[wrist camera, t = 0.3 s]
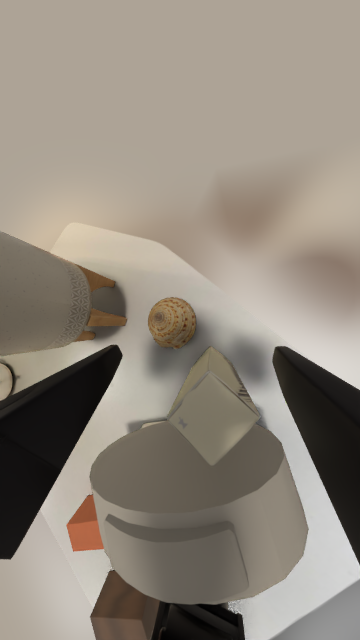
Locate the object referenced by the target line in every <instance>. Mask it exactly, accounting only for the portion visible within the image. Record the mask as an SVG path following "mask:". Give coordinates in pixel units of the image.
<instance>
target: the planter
mask: <svg viewBox="0 0 360 640" xmlns="http://www.w3.org/2000/svg"><path fill="white" fill-rule="evenodd" d="M114 284H115V281H113V280H111V279H108V278H106V277H104V276H102V275H99V274H97V273H95V272H93V271H90V270H88V269H86V268H83V267H81V266H79V265H77V264H74V263H72V262H69V261H67V260H65V259H63V258H60V257H58V256H56V255H54V254H51V253H49V252H47V251H44V250H42V249H40V248H37V247H35V246H33V245H31V244H29V243H26V242H24V241H22V240H19V239H17V238H15V237H12V236H10V235H8V234H6V233H4V232H1V231H0V356H6V355H13V354H20V353H27V352H33V351H40V350H47V349H54V348H60V347H64V346H66V345H69V344H70V343H72V342H77V341H85V340H93V339H94V336H95V334H94V333H92V332H91V331H84V328H85V326H125V323H126V321H127V318H125V317H123V316H117V315H113V314H109V313H105V312H102V311H99V310H96V309H93V308H91V305H92V300H91V292H93V291H94V290H96V289H98V288H101V287H106V286H109V287H114Z"/></svg>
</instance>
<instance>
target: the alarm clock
mask: <svg viewBox="0 0 360 640" xmlns="http://www.w3.org/2000/svg"><path fill="white" fill-rule="evenodd" d="M90 482H91V487H92V493H93V498H94V504H95V509H96V514H97V520H98V525H99V530H100V535H101V539H102V543H103V547H104V550H105V553H106V554H107V555H108V557H109V558H110V561H111V565H112V568H113V569H114V570H115V571H116V572H117V573H118V574H119V575H120V576H121V577H122V578H123V579H124V580H125V581H126V582H127V583H128V584H130V585H131V586H133V587H134V588H136V589H137V590H139V591H140V592H142V593H143V594H145V595H148V596H150V597H153V598H156V599H158V600H161V601H163V602H166V603H178V604H191V605H192V604H199V603H202V604H214V605H215V604H220V603H225V602H230V601H235V600H240V599H245V598H250V597H254V596H256V595H258V594H259V593H261V592H263V591H265V590H266V589H268V588H270V587H272V586H273V585H275V584H277V583H279V582H280V581H282V580H284V579H285V578H286V577H287V575H288V574H289V573H290V572H291V570H292V569H293V568H294V567H295V565H296V564H297V563H298V561H299V560H300V559H301V558H302V556H303V554H304V549H305V544H306V539H307V534H308V530H309V529H308V525H307V521H306V518H305V514H304V510H303V506H302V503H301V500H300V497H299V494H298V491H297V488H296V485H295V482H294V479H293V476H292V473H291V470H290V467H289V464H288V461H287V458H286V455H285V452H284V449H283V446H282V443H281V442H280V441H279V440H278V439H277V438H276V436H275V435H274V434H273V433H272V432H271V431H269V430H267V429H265V428H263V427H261V426H259V425H257V424H254V425H253V426H252V428H251V429H250V430H249V431H248V432H247V433H246V434H245V435H244V436H243V437H242V438H241V439H240V440H239V441H238V442H237V443H236V444H235V445H234V446H233V447H232V448H231V449H230V450H229V451H228V452H227V453H226V454H225V455H224V456H223V457H222V458H221V459H220V460H219V461H218V462H217V463H216V464H215V465H213V466H211V465H210V464H209V463H208V462H207V461H206V460H205V459H204V458H203V457H202V456H201V455H200V454H199V453H198V452H197V451H196V450H195V449H194V448H193V447H192V446H191V445H190V444H189V443H188V442H187V441H186V440H185V439H184V438H183V437H182V435H181V434H180V433H179V432H178V431H177V430H176V429H175V428H174V427H173V426H172V425H171V424H170V422H169V421H160V422H152V423H144V424H143V425H142V427H141V429H139V430H136V431H134V432H132V433H130V434H128V435H126V436H123V437H121V438H120V439H118V440H117V441H115V442H114V443H112V444H111V445H109V446H108V447H107V448H106V449H105V450H104V451H103V452H101V453H100V454H99V455H98V457H97V458H96V460H95V462H94V463H93V465H92V468H91V472H90Z"/></svg>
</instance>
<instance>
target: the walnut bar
mask: <svg viewBox="0 0 360 640" xmlns="http://www.w3.org/2000/svg"><path fill="white" fill-rule="evenodd" d="M159 602H160V600H158V599H156V598H153V597H150V596H148V595H145V594H143V593H142V592H140V591H139V590H137V589H136V588H134V587H133V586H131V585H130V584H128V583H127V582H126V581H125V580H124V579H123V578H122V577H121V576H120V575H119V574H118V573H117V572H116V571H109V573H108V576H107V578H106V581H105V583H104V585H103V588H102V590H101V592H100V595H99V597H98V599H97V602H96V604H95V607H94V609H93V612H92V614H91V616H90V618H91V622H92V626H93V630H94V633H95V637H96V640H150V638H151V634H152V631H153V628H154V625H155V621H156V616H157V612H158V607H159Z"/></svg>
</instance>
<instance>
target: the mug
mask: <svg viewBox="0 0 360 640" xmlns="http://www.w3.org/2000/svg"><path fill="white" fill-rule="evenodd" d="M12 382H13V380H12V374H11V372H10V370H9V369H8V367H6V366H5V365H3V364H0V401H1V400H3V399H5V398H6V397H7V396H8V395H9V393H10V391H11V388H12Z"/></svg>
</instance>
